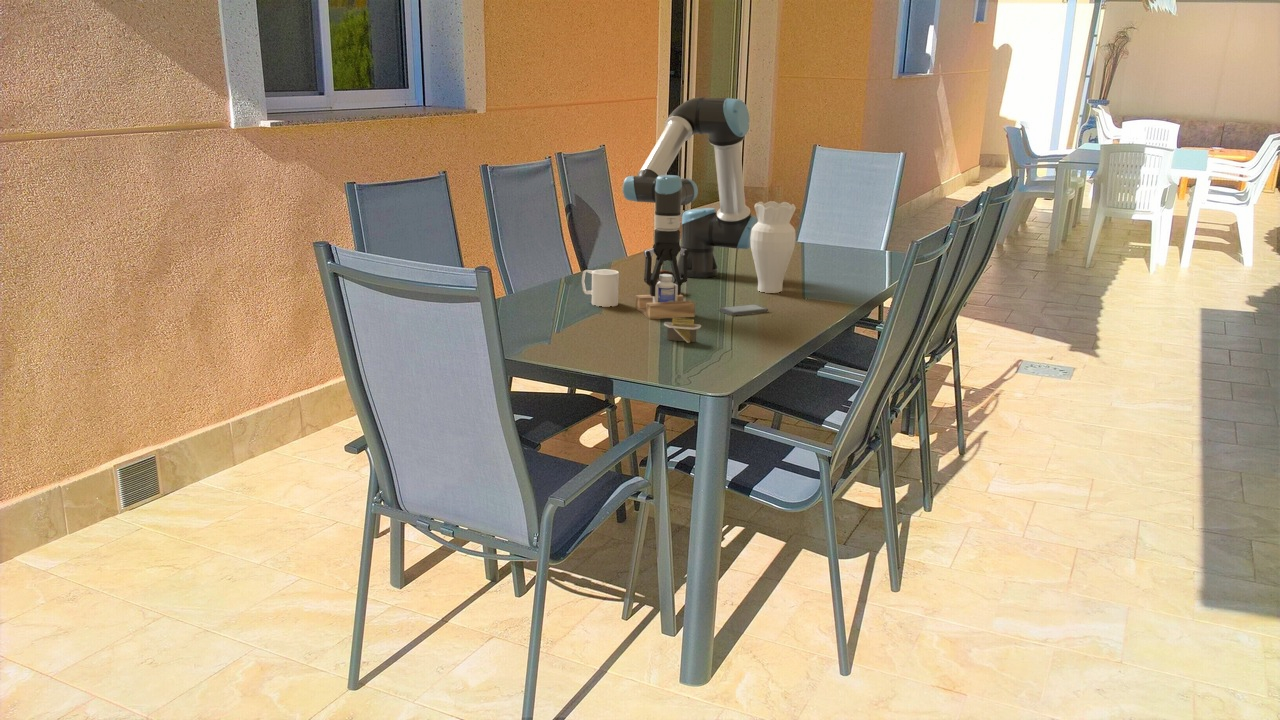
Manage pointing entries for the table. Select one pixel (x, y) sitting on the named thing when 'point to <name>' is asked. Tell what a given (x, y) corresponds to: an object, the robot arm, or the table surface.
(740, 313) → the phone slab
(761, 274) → the vase
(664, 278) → the pill bottle
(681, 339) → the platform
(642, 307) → the socket holder
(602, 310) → the table surface
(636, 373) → the table surface
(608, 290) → the cup
